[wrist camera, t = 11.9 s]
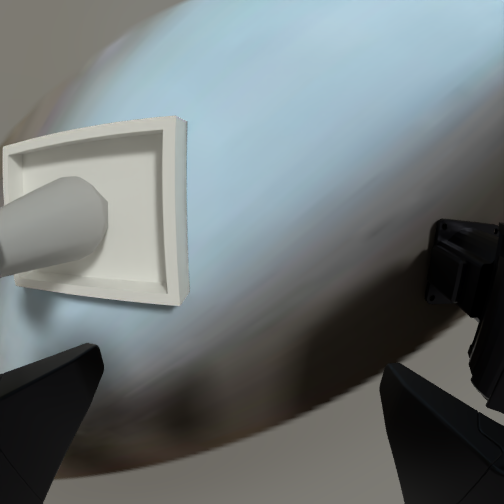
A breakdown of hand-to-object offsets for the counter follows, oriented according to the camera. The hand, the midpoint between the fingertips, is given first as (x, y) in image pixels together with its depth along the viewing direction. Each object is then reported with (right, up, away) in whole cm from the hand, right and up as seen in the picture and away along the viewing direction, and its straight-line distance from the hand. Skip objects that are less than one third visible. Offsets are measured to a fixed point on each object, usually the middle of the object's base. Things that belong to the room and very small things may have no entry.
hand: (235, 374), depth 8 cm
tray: (-12, +7, +13) cm, 19 cm away
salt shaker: (-12, +6, +12) cm, 18 cm away
